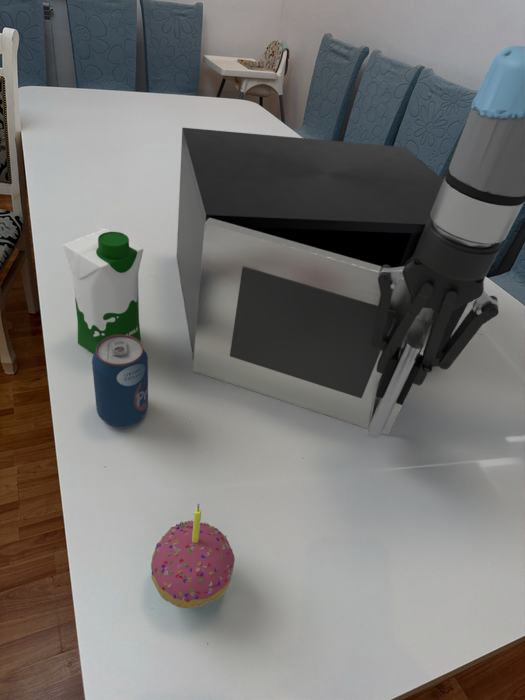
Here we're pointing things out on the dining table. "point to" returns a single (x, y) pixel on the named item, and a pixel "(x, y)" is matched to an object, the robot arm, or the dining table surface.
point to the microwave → (302, 199)
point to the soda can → (120, 380)
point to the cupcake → (192, 564)
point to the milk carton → (105, 286)
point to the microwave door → (300, 325)
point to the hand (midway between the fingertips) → (390, 393)
